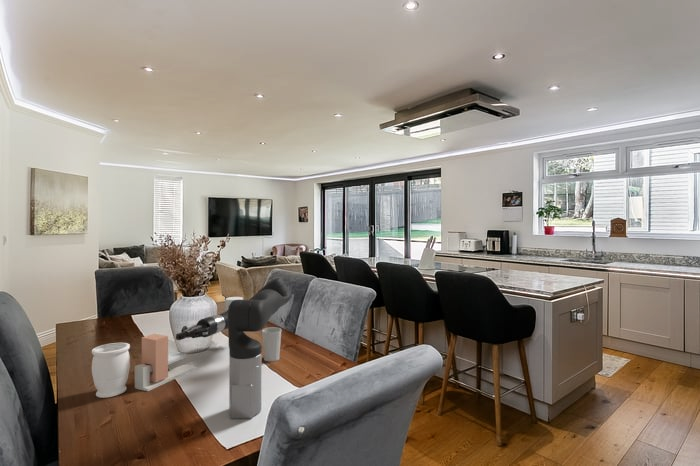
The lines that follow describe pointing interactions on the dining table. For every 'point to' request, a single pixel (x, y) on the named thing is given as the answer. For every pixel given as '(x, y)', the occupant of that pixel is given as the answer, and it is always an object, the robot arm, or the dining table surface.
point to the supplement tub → (229, 300)
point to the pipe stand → (145, 384)
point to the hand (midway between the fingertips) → (177, 337)
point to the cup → (271, 343)
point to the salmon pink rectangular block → (156, 355)
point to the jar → (110, 369)
